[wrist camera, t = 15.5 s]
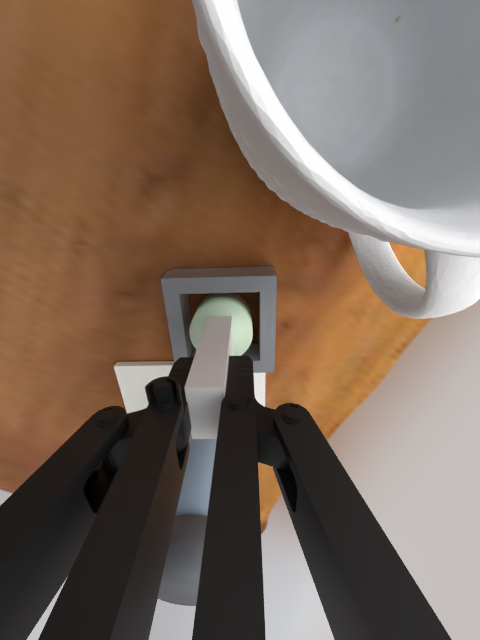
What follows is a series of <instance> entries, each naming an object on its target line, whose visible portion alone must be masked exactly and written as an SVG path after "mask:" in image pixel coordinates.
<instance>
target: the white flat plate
mask: <svg viewBox="0 0 480 640" xmlns="http://www.w3.org/2000/svg"><path fill="white" fill-rule="evenodd" d="M173 364H174V361H144V362H117V363H116V364H115V365H114V369H115V373H116V376H117V380H118V383H119V387H120V390H121V394H122V397H123V401H124V404H125V408H126V411H127V413H131V412H135V411H139V410H142V409H145V408H147V407H148V399H147V395H146V391H145V386H146V385H147V384H148V383H149V382H151V381H152V380H154V379H156V378H159V377H165V376H169V373H170V371H171V368H172V366H173ZM253 374H254V395H255V398H256V400H257V402H259V403H260V404H261V405H263V406H264V407H265V373H253Z"/></svg>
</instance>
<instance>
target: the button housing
mask: <svg viewBox="0 0 480 640" xmlns="http://www.w3.org/2000/svg"><path fill="white" fill-rule="evenodd" d="M161 285H162V291H163V297H164V304H165V310H166V316H167V322H168V328H169V334H170V340H171V346H172V352H173V358H174V363H175V362H176V361H177V360H178V359H179V358H180V357H194V356H195V353H196V348H195V347H194V346H193V344H192V342H191V339H190V334H189V330H190V324H191V322H192V320H191V312H190V303H189V295H188V294H201V293H242V292H258V306H259V343H251V344H250V346H249V348H248V349H247V350H246V351H245V353H243V354H242V355H241V356H249V357H250V358H251V359H252V361H253V373H270V372H274V367H275V332H276V297H277V274H276V272H275V269H274V267H273V266H259V267H223V268H186V269H170V270H169V271H168V272H167V273H166V274H165V275H164V276H163V277H162V278H161Z"/></svg>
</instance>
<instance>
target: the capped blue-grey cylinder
mask: <svg viewBox="0 0 480 640" xmlns="http://www.w3.org/2000/svg"><path fill="white" fill-rule="evenodd" d="M216 441H217V439H192V435H191V432H190V437H189V445H190V452H189V456H188V461H187V465H186V470H185V474H184V479H183V484H182V488H181V493H180V497H179V502H178V506H177V511H176V516H175V520H174V525H173V529H172V534H171V538H170V543H169V548H168V552H167V557H166V561H165V566H164V570H163V575H162V580H161V584H160V589H159V593H158V599H161V600H163V601H166V602H170V603H174V604H179V605H188V606H196V603H197V595H198V587H199V579H200V571H201V563H202V555H203V547H204V539H205V530H206V522H207V514H208V506H209V498H210V490H211V482H212V474H213V465H214V457H215V449H216Z"/></svg>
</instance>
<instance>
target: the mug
mask: <svg viewBox="0 0 480 640" xmlns="http://www.w3.org/2000/svg"><path fill="white" fill-rule="evenodd" d="M192 3H193V7H194V10H195V14H196V19H197V28H198V37H199V41H200V44H201V46H202V48H203V49H204V51H205V53H206V55H207V61H208V65H209V73H210V75H211V77H212V80H213V83H214V86H215V88H216V92H217V95H218V97H219V101H220V106H221V108H222V110H223V111H224V114H225V117H226V120H227V122H228V123H229V127H230V131H231V132H232V134H233V136H234V139H235V140H236V141H237V143H238V145H239V148H240V150H241V152H242V153H243V155H244V157H245V158H246V159H247V161H248V162H249V165H250V167H251V168H252V169H254V170H255V171H256V173H257V175H258V177H259V178H260V179H261V180H262V181H264V182H265V184H266V186H267V187H268V189H269V190H272V191H274V192H275V193H276V194H277V196H278V197H279V198H280V199H281V200H283V201H285V202H288V203H289V204H290V205H291V206H292V207H294V208H295V209H297V210H298V211H301V212H302V213H303V214H306V215H308V216H309V217H311V218H313V219H317V220H319V221H320V222H322V223H327V224H328V225H330V226H331V227H337V228H341V229H342V230H344V231H347V232H348V234H349V237H350V240H351V242H352V245H353V248H354V251H355V254H356V257H357V259H358V262H359V264H360V266H361V269H362V271H363V273H364V275H365V277H366V279H367V281H368V282H369V284H370V286H371V288H372V289H373V291H374V292H375V293H376V295H377V296H378V297H379V298H380V300H381V301H382V302H383V303H384V304H385V305H386V306H388V307H389V308H390V309H391V310H393V311H395V312H396V313H398V314H400V315H402V316H405V317H409V318H419V319H425V318H433V317H441V316H445V315H449V314H453V313H455V312H458V311H461V310H463V309H465V308H467V307H469V306H470V305H472V304H474V303H475V302H476V301H478V300H479V299H480V0H192ZM389 242H395V243H398V244H402V245H406V246H410V247H414V248H419V249H424V251H425V259H426V272H427V278H426V289H424V288H423V287H421V286H419V285H418V284H417V283H416V282H415V281H414V280H412V279H411V278H410V277H409V276H408V274H407V273H406V272H405V271H404V269H403V268H402V266H401V265H400V263H399V262H398V260H397V258H396V256H395V254H394V253H393V251H392V249H391V247H390V244H389Z"/></svg>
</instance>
